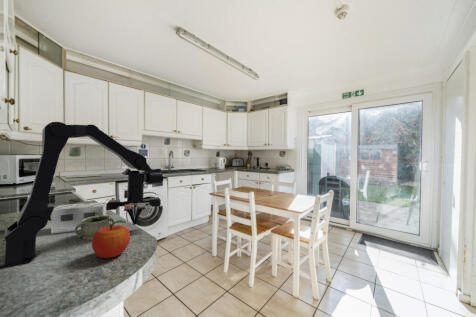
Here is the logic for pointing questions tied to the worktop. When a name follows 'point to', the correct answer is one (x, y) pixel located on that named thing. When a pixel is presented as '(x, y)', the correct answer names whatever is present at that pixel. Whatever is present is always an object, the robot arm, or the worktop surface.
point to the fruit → (111, 240)
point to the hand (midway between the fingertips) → (134, 224)
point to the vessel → (92, 226)
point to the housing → (74, 215)
